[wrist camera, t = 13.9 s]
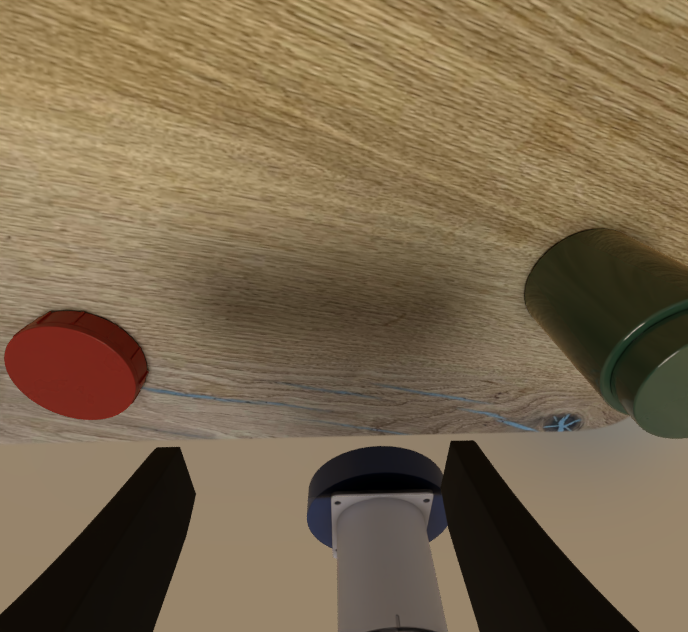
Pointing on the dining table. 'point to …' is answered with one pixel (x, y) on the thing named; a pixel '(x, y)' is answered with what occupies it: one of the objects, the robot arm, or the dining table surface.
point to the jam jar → (619, 323)
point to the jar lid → (76, 365)
